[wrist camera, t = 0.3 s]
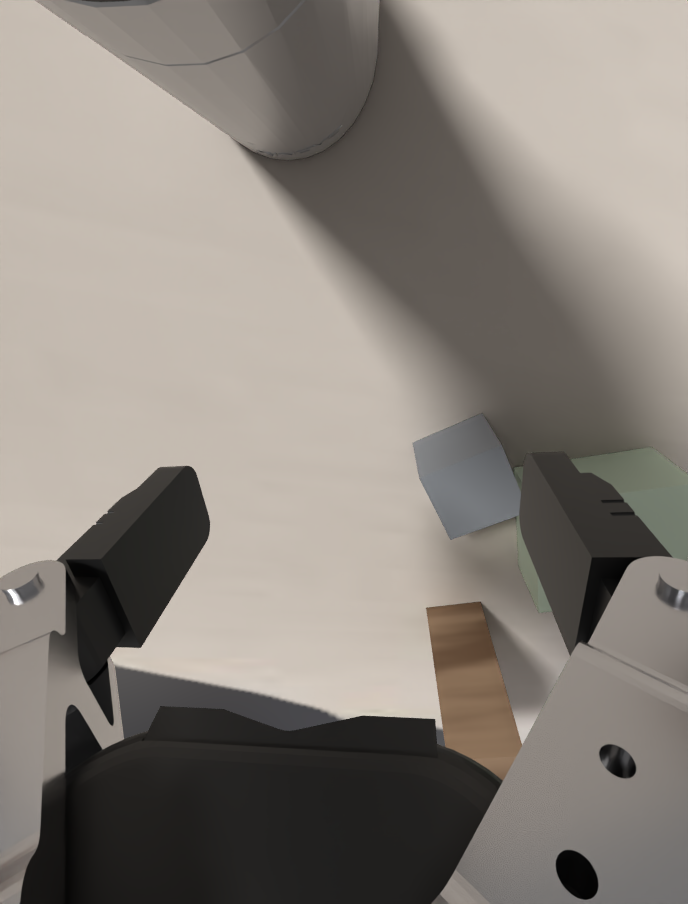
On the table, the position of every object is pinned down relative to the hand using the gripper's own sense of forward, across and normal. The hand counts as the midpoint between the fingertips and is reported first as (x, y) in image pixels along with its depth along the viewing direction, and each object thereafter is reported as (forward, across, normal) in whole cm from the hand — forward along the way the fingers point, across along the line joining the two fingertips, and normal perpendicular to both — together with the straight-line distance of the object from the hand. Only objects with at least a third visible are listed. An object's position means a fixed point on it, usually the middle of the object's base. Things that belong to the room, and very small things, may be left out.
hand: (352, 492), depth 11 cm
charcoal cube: (+19, -5, +9) cm, 21 cm away
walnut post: (+18, -5, +25) cm, 32 cm away
